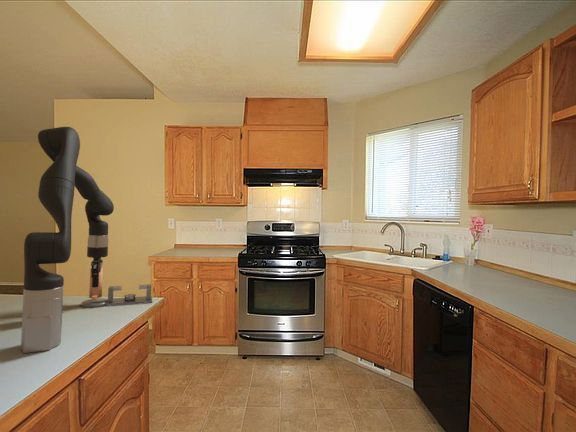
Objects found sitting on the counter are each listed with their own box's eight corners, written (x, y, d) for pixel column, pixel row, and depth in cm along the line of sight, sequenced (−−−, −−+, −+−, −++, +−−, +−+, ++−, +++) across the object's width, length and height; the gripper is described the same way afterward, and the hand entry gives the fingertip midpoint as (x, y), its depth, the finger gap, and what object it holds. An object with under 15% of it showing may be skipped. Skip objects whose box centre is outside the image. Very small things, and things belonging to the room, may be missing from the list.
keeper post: (152, 302, 137) (152, 287, 137) (105, 306, 130) (106, 289, 130) (151, 298, 145) (152, 283, 145) (107, 301, 137) (108, 285, 137)
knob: (87, 300, 126) (88, 270, 126) (90, 294, 135) (91, 266, 135) (100, 299, 128) (101, 269, 128) (102, 293, 137) (104, 266, 137)
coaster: (108, 306, 129) (108, 303, 129) (79, 308, 125) (79, 305, 125) (110, 300, 138) (110, 297, 138) (83, 302, 134) (83, 299, 134)
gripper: (89, 243, 136) (88, 282, 136) (84, 247, 123) (82, 290, 123) (109, 243, 140) (107, 281, 140) (106, 247, 127) (104, 289, 127)
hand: (96, 285), depth 132 cm, fingers closed on knob, 4 cm apart
